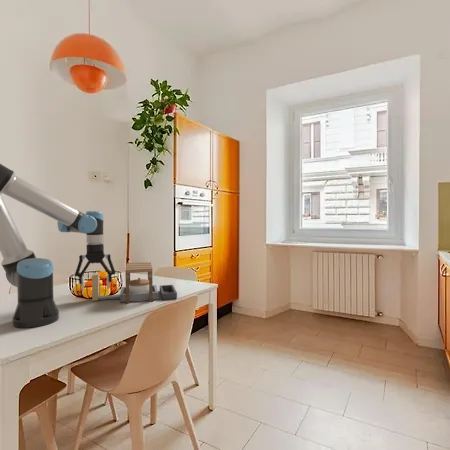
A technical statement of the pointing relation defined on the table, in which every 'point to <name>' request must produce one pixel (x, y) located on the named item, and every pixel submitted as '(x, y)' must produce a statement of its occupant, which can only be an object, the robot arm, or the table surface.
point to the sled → (122, 294)
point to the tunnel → (136, 269)
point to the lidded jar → (139, 286)
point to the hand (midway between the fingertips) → (95, 289)
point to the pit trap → (168, 292)
